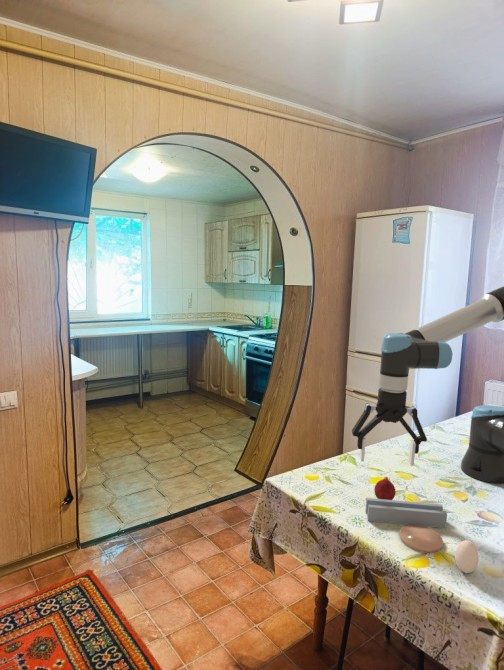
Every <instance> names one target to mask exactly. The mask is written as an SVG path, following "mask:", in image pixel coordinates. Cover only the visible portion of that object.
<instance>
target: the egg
mask: <svg viewBox="0 0 504 670" xmlns="http://www.w3.org/2000/svg"><path fill="white" fill-rule="evenodd" d="M454 557H455V563H456V565H457V567H458V569H459V570H460V571H462V572H463V573H466V574H470V573H473V572H474V571H476V569H477V568H478V565H479V561H480V559H479V558H480V557H479V552H478V548H477V546H476V545H475V543H473V542H472V541H471V540H469V539H466V540H462V541H460V543H459V544H458V546H457V547H456V550H455V555H454Z"/></svg>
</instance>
